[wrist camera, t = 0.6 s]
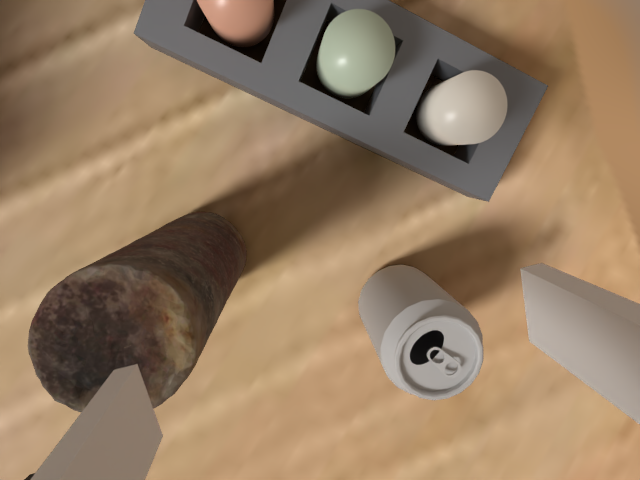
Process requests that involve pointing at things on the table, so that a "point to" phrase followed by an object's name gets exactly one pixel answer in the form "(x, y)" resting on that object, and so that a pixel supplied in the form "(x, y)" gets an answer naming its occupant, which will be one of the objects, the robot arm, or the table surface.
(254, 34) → the pinkish-brown oval egg
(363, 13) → the pale green egg
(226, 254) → the dark brown tall cylinder
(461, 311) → the can
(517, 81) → the grey egg tray
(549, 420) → the table surface
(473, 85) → the white egg
